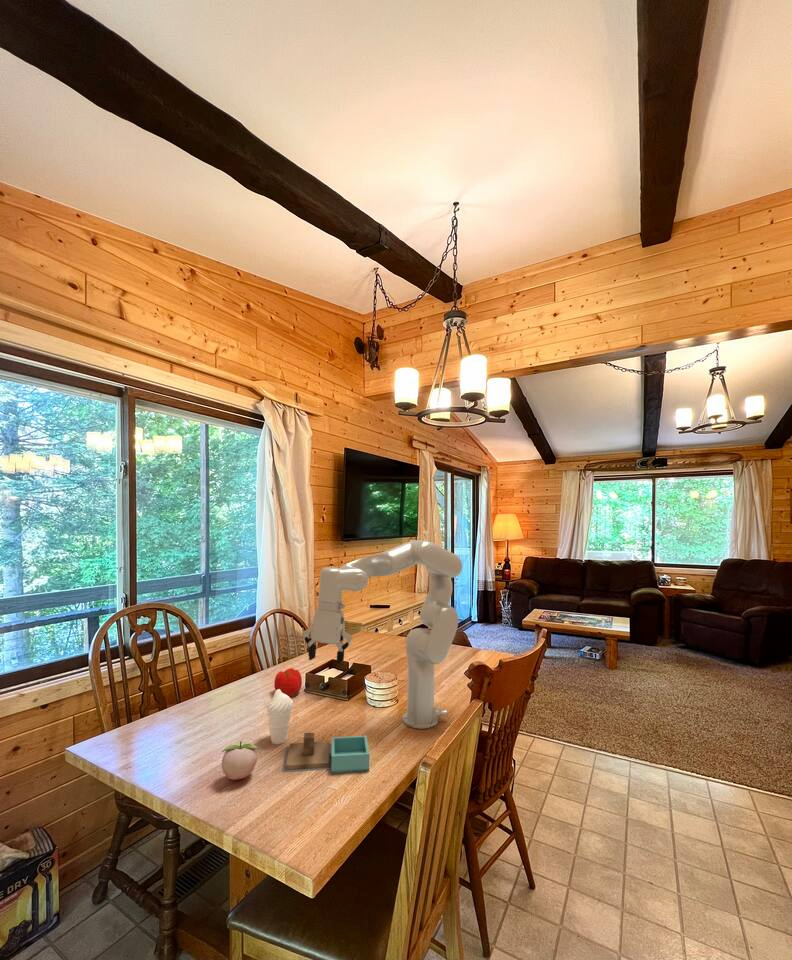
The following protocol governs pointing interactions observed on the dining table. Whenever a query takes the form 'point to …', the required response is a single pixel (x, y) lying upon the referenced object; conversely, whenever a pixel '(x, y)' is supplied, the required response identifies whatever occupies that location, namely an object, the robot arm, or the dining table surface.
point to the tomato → (288, 681)
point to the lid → (308, 754)
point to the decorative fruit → (239, 760)
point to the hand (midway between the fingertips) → (325, 661)
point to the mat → (305, 769)
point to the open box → (349, 754)
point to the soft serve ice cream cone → (279, 716)
